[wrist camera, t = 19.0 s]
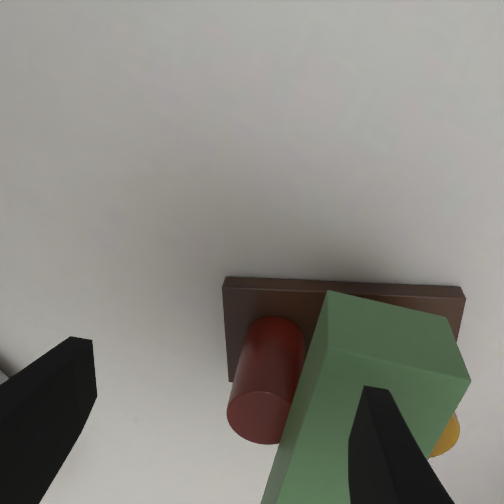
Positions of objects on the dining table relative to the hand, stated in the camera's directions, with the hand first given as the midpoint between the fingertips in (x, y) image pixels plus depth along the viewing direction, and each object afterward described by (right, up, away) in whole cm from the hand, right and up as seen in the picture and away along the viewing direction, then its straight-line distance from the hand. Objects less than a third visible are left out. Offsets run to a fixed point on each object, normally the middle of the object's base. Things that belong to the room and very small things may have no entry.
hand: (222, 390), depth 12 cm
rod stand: (+5, 0, +11) cm, 12 cm away
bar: (+4, -3, +6) cm, 8 cm away
